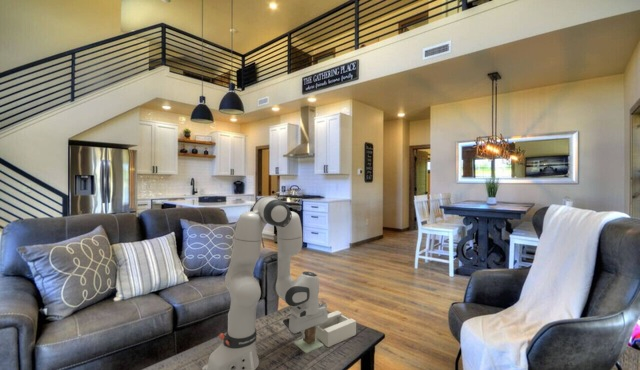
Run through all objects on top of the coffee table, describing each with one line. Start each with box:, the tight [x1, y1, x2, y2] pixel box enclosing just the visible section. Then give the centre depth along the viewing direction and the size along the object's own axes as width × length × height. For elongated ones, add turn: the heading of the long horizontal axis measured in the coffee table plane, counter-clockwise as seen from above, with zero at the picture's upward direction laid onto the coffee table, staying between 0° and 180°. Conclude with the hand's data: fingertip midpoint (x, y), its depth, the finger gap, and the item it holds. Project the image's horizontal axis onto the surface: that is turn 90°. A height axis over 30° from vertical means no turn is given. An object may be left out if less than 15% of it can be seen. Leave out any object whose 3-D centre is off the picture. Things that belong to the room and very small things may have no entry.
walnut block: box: [302, 326, 316, 344], centre depth 141 cm, size 4×4×7 cm
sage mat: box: [293, 338, 325, 354], centre depth 141 cm, size 10×10×1 cm
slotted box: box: [315, 310, 357, 348], centre depth 150 cm, size 18×14×7 cm
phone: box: [282, 317, 301, 336], centre depth 158 cm, size 8×1×15 cm
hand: (308, 335), depth 141 cm, fingers closed on walnut block, 4 cm apart
